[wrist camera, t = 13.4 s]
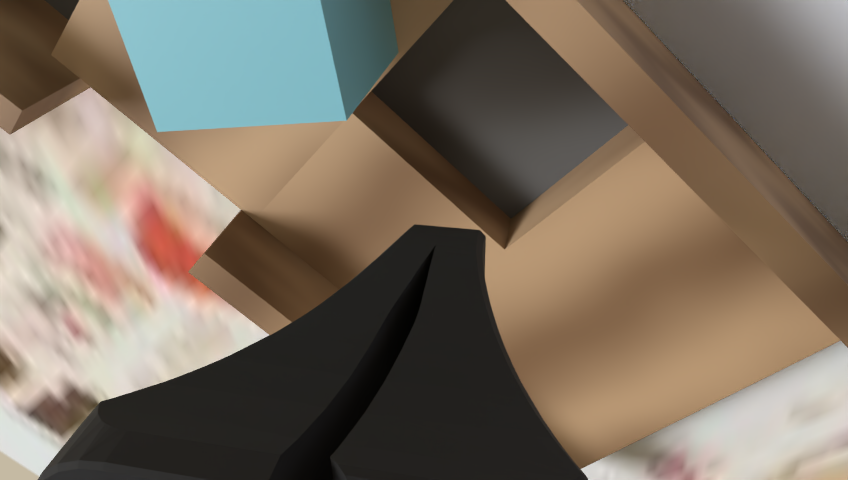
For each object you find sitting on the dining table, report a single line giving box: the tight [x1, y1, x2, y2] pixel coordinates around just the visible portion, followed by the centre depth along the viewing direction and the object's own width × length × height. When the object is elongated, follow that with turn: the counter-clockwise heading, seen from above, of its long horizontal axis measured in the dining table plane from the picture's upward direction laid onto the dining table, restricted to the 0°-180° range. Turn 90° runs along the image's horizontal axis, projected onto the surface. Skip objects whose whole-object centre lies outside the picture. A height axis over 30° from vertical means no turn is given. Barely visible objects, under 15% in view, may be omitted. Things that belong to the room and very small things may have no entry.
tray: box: [0, 0, 848, 469], centre depth 18 cm, size 33×13×4 cm, turn 48°
